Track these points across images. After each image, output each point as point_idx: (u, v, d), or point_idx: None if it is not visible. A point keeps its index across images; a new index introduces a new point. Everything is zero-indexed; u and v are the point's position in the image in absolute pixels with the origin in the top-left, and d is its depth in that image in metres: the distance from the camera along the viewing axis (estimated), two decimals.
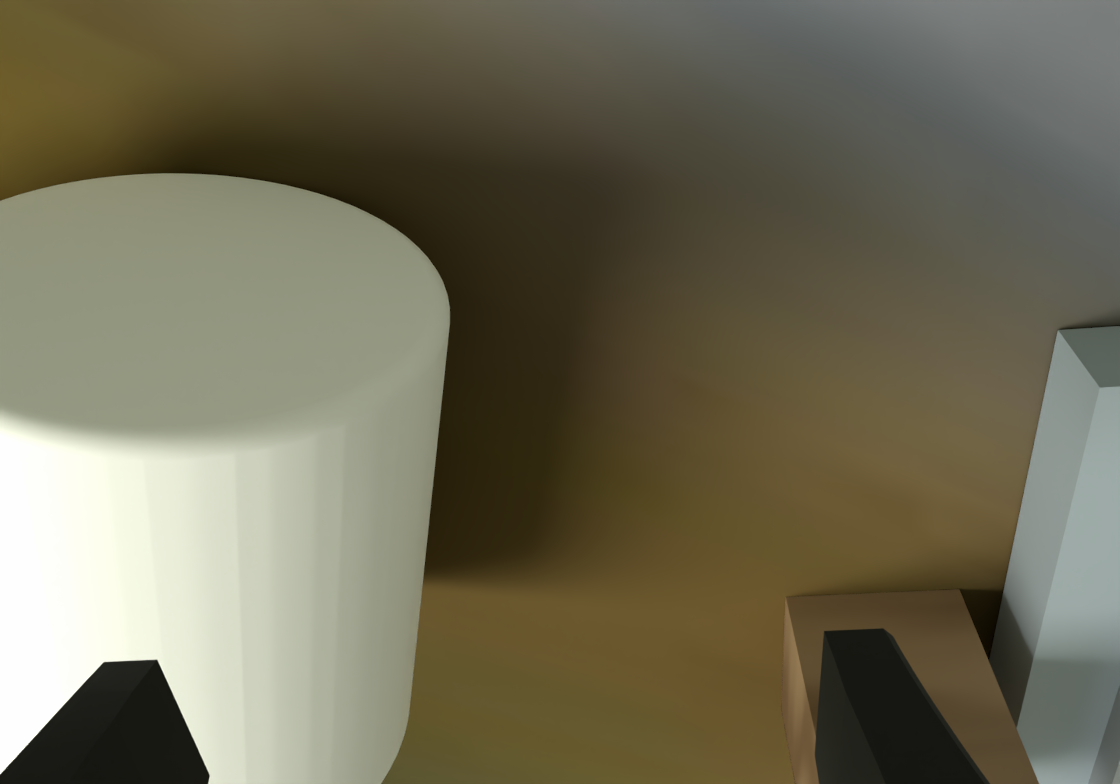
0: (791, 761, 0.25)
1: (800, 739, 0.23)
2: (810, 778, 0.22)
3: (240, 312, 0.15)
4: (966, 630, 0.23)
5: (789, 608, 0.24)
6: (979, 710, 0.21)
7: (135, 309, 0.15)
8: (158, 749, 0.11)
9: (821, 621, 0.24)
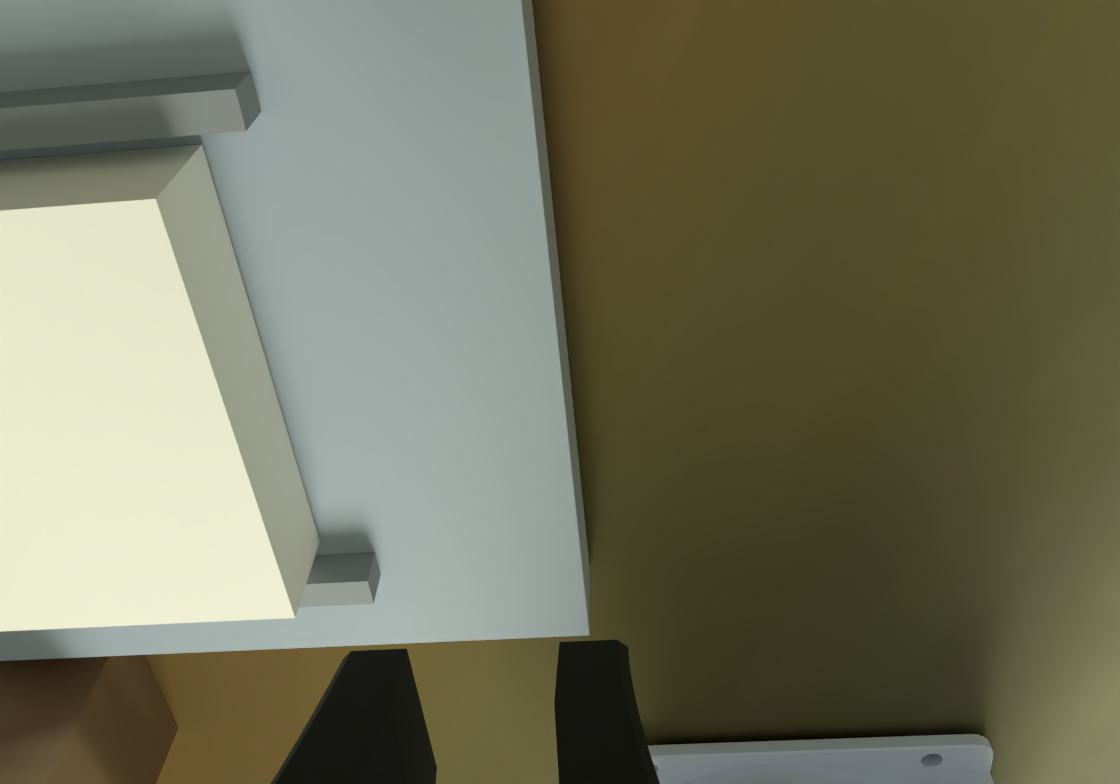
0: None
1: None
2: None
3: None
4: None
5: None
6: None
7: None
8: (409, 740, 0.11)
9: None
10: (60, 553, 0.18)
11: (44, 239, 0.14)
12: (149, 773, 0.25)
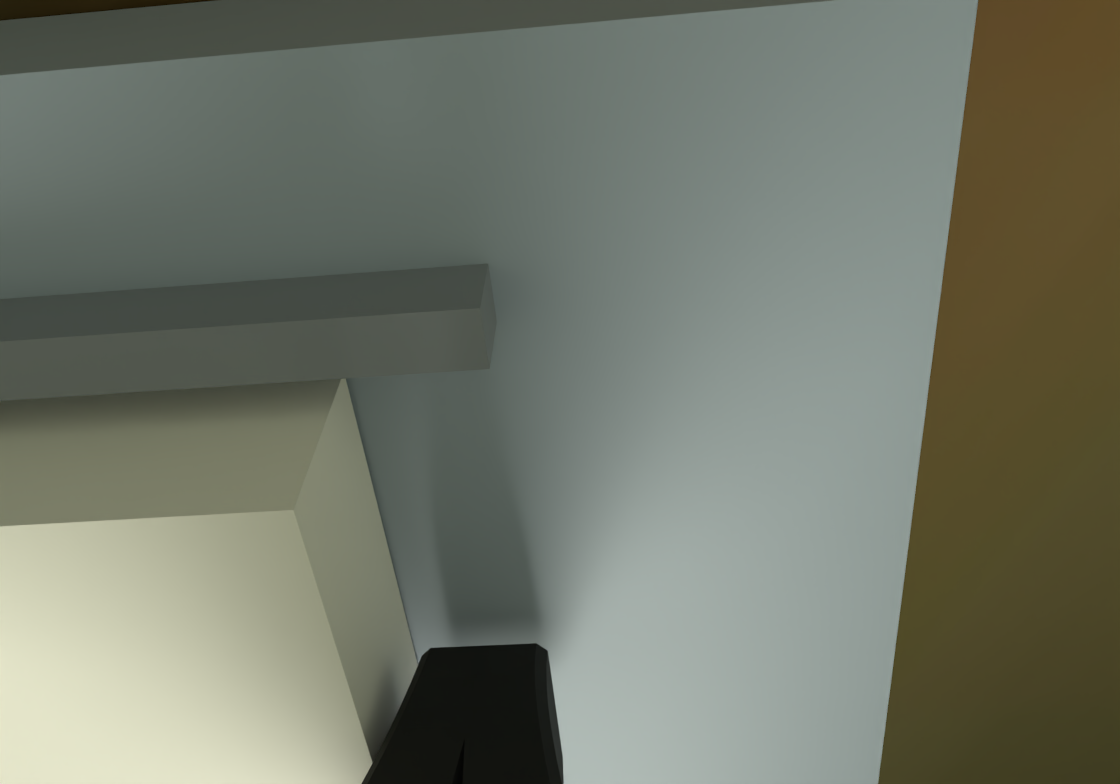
0: None
1: None
2: None
3: None
4: None
5: None
6: None
7: None
8: None
9: None
10: None
11: (102, 563, 0.09)
12: None
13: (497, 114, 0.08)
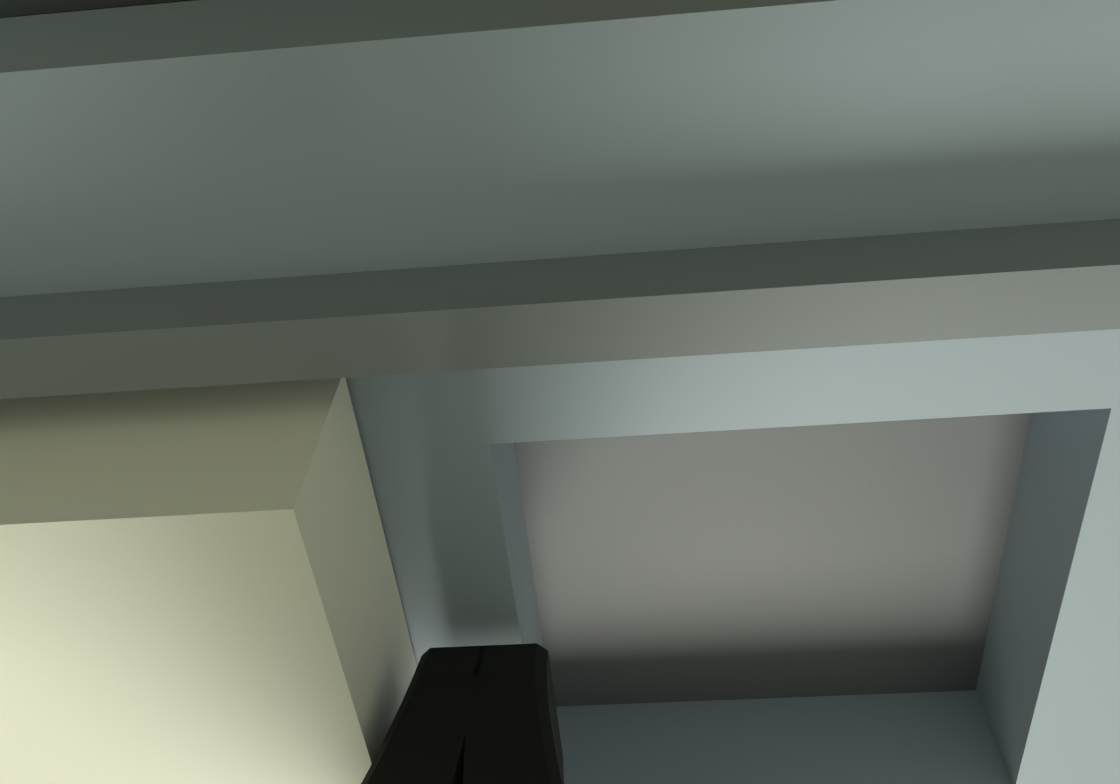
0: None
1: None
2: None
3: None
4: None
5: None
6: None
7: None
8: None
9: None
10: None
11: (101, 562, 0.09)
12: None
13: None
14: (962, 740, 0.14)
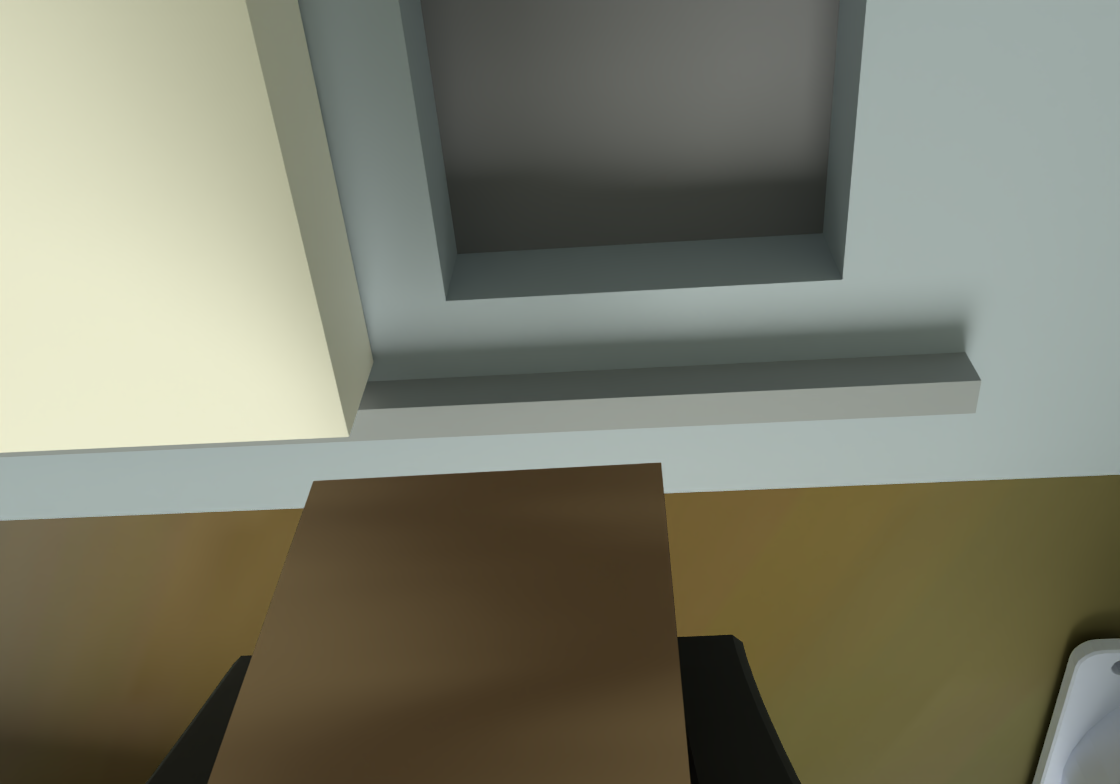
0: None
1: None
2: None
3: None
4: None
5: None
6: None
7: None
8: None
9: None
10: (58, 342, 0.14)
11: None
12: None
13: None
14: (805, 258, 0.16)
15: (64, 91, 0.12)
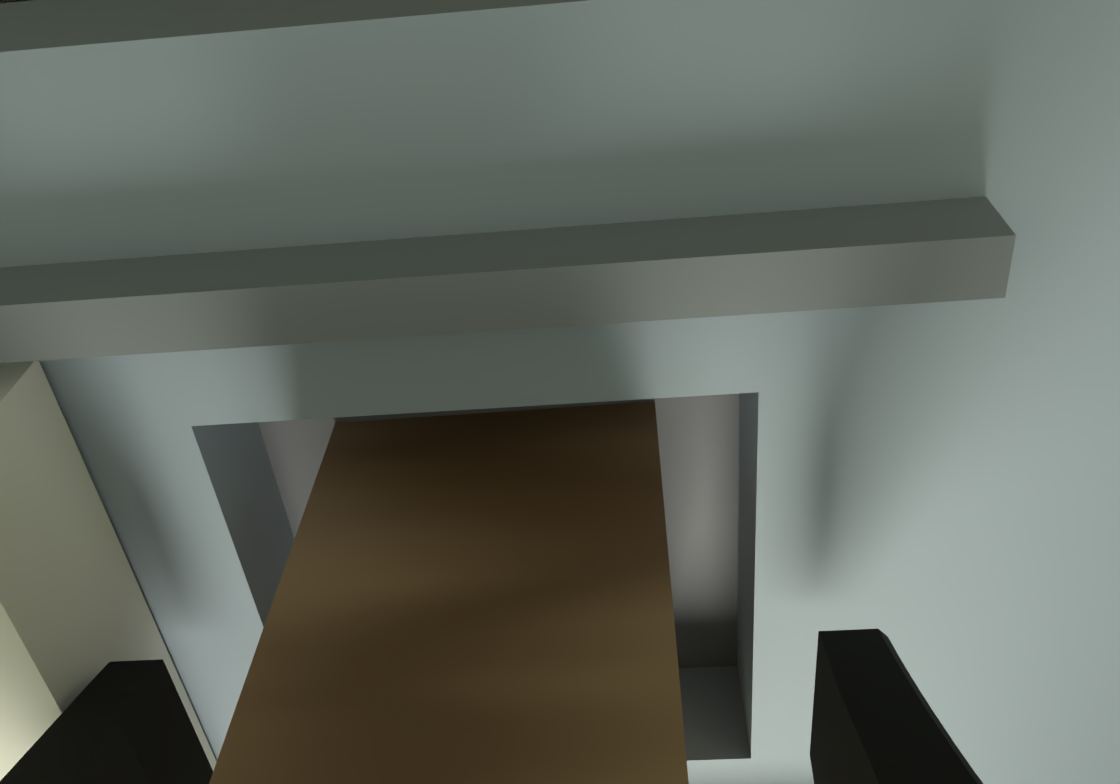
0: None
1: None
2: None
3: None
4: None
5: None
6: None
7: None
8: (163, 749, 0.11)
9: None
10: None
11: None
12: None
13: (1040, 43, 0.09)
14: (714, 712, 0.15)
15: None
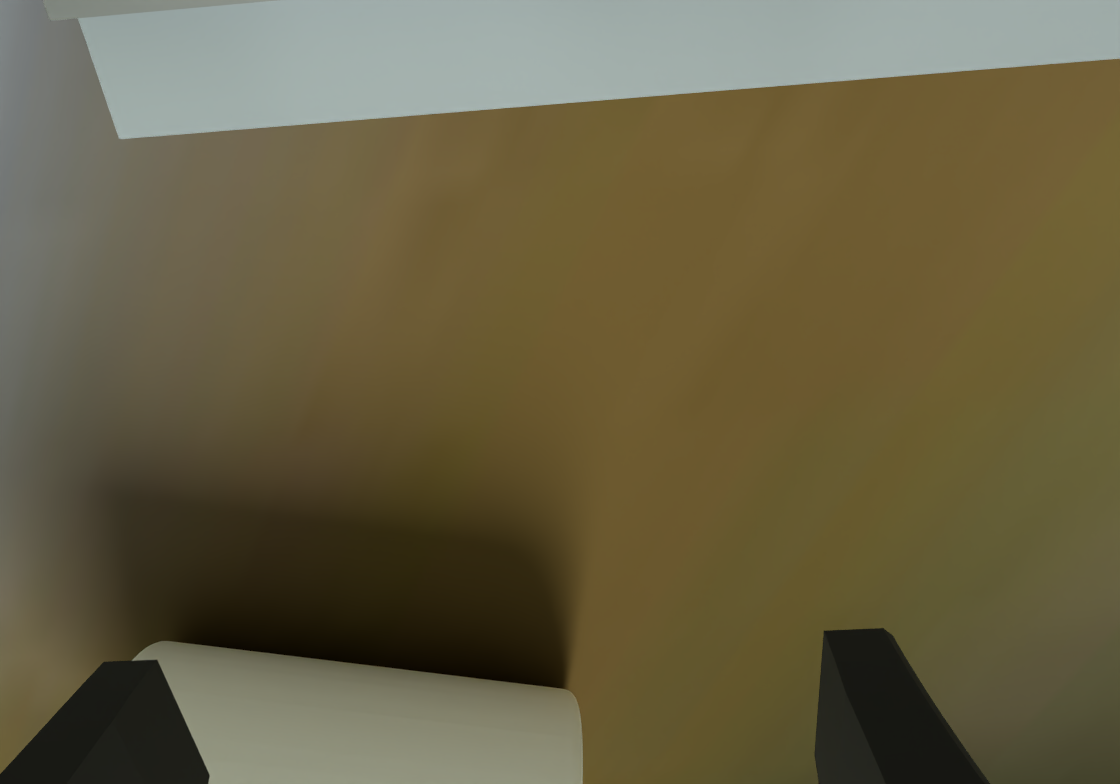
0: None
1: None
2: None
3: None
4: None
5: None
6: None
7: None
8: (158, 749, 0.11)
9: None
10: None
11: None
12: None
13: None
14: None
15: None
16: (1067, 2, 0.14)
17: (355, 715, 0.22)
